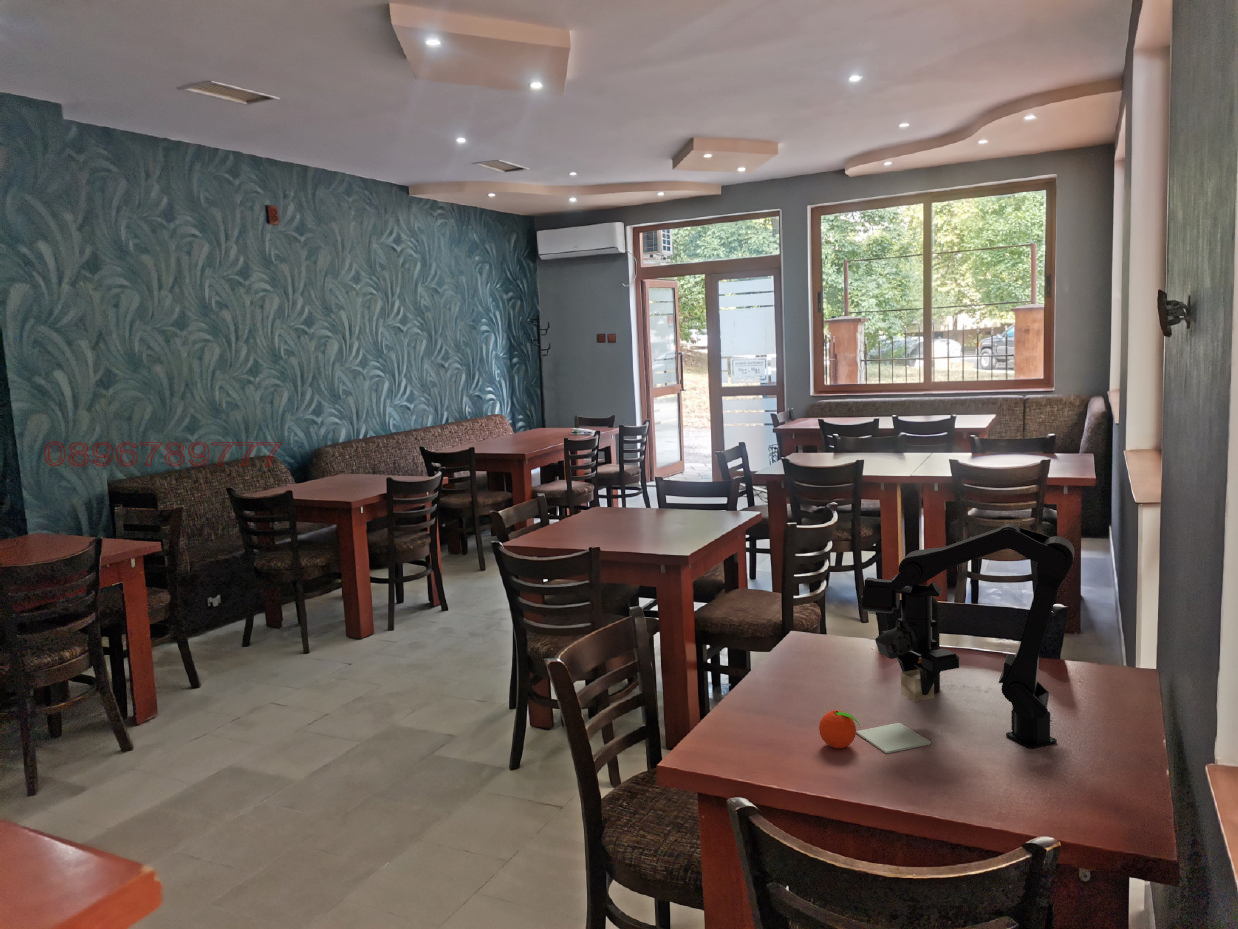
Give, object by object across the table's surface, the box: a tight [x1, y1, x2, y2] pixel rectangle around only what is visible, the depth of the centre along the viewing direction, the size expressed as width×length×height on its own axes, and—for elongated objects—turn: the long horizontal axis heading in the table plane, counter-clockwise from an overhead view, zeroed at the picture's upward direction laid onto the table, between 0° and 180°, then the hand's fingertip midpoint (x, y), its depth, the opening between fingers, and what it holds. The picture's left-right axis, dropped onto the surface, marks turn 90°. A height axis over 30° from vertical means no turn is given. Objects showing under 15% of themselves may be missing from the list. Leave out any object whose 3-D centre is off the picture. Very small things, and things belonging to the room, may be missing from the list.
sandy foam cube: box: [900, 669, 935, 702], centre depth 176 cm, size 4×4×4 cm
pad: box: [856, 722, 932, 754], centre depth 170 cm, size 10×10×1 cm
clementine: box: [818, 709, 861, 749], centre depth 168 cm, size 8×7×7 cm
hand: (917, 690), depth 176 cm, fingers closed on sandy foam cube, 4 cm apart
